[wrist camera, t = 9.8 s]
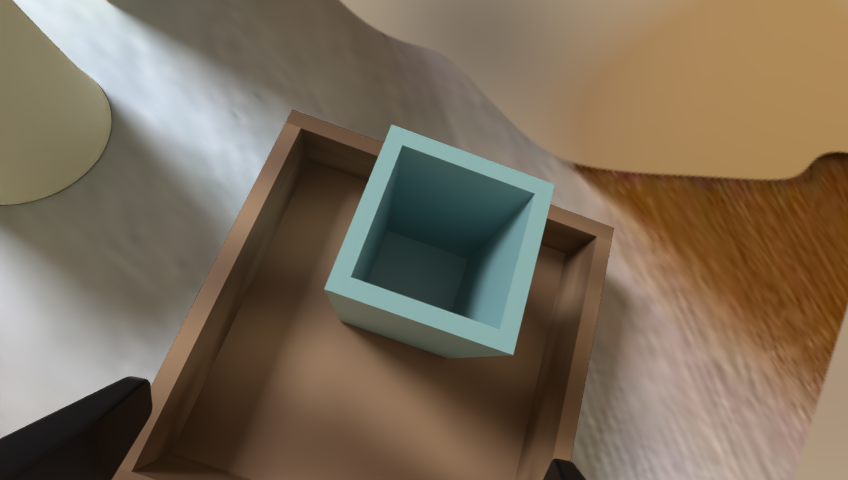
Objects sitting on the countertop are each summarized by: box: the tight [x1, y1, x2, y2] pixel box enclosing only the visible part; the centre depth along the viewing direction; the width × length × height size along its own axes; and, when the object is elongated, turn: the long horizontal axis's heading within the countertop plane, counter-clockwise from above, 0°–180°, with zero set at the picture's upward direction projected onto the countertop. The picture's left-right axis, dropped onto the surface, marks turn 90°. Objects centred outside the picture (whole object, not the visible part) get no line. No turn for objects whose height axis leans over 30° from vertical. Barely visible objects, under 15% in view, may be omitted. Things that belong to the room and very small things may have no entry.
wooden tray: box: [112, 110, 614, 480], centre depth 21 cm, size 18×18×4 cm
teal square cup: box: [324, 124, 555, 359], centre depth 18 cm, size 6×6×10 cm
